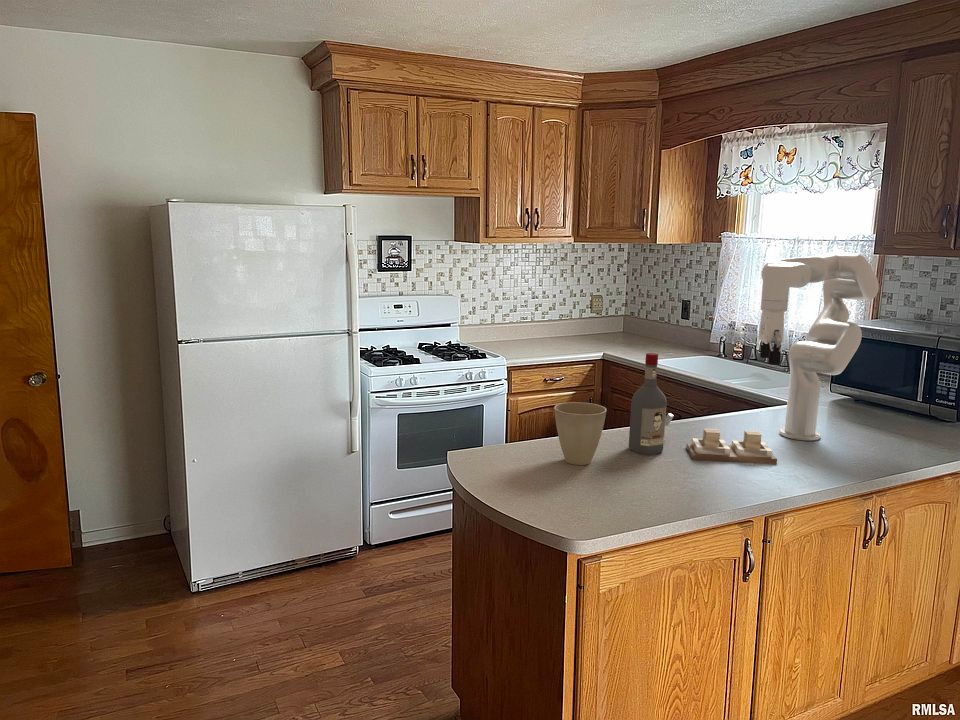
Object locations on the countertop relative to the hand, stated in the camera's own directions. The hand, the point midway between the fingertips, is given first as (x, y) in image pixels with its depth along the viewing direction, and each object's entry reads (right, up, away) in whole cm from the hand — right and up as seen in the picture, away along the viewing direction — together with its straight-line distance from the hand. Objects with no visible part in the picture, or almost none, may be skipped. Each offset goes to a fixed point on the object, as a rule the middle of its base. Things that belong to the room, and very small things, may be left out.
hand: (769, 360), depth 231 cm
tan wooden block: (-19, -27, -3) cm, 33 cm away
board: (-13, -29, -3) cm, 32 cm away
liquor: (-38, -28, 0) cm, 47 cm away
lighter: (-29, -25, +16) cm, 41 cm away
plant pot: (-60, -29, -11) cm, 68 cm away
